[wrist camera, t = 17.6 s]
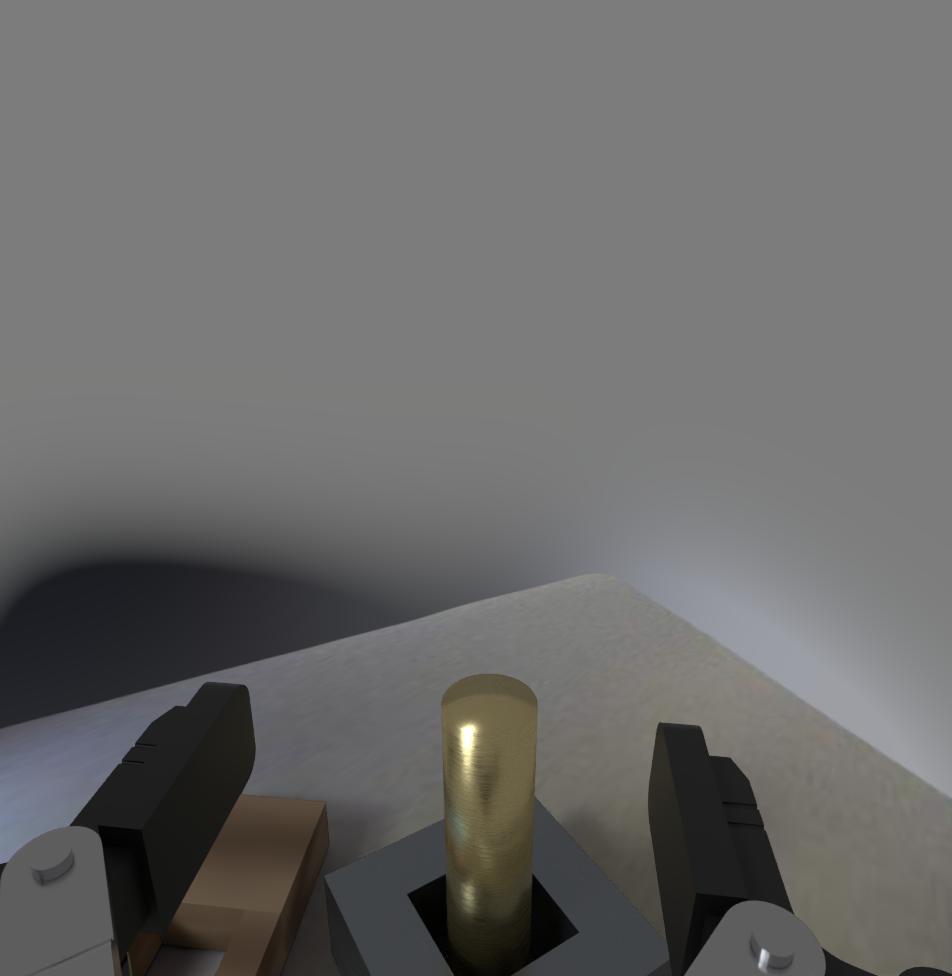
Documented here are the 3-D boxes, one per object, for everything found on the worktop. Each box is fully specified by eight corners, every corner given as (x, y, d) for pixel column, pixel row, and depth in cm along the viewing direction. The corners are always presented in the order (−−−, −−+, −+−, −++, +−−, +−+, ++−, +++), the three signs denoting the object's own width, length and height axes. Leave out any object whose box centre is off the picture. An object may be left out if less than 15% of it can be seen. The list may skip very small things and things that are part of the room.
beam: (161, 1295, 23) (146, 1244, 22) (-63, 1256, 24) (-88, 1206, 23) (329, 843, 40) (325, 802, 39) (194, 830, 41) (187, 789, 39)
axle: (434, 981, 32) (424, 693, 27) (499, 942, 34) (502, 663, 29) (476, 1054, 30) (473, 748, 24) (544, 1007, 31) (556, 712, 26)
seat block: (331, 952, 34) (323, 875, 32) (519, 852, 39) (521, 782, 37) (442, 1209, 25) (440, 1123, 23) (665, 1034, 30) (677, 954, 29)
